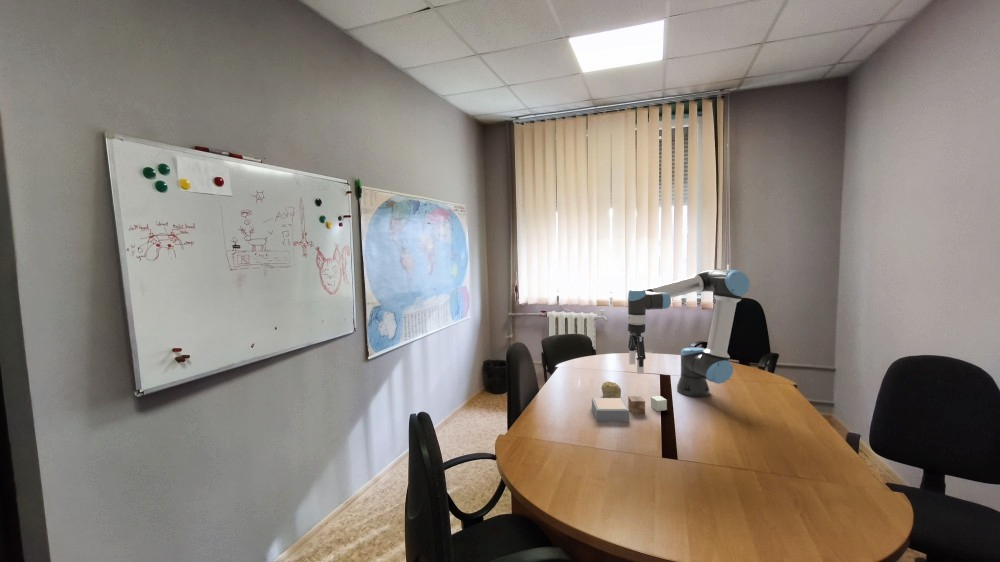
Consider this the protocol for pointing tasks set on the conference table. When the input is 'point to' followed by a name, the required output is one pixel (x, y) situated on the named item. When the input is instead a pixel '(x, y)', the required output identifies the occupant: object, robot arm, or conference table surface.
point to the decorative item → (611, 390)
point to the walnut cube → (636, 404)
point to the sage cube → (658, 403)
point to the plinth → (610, 409)
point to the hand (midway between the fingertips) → (636, 368)
